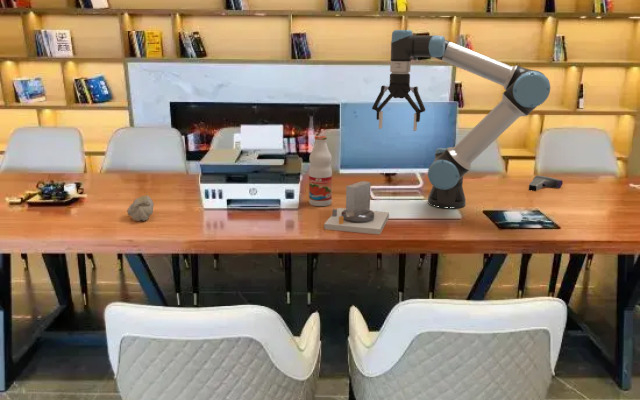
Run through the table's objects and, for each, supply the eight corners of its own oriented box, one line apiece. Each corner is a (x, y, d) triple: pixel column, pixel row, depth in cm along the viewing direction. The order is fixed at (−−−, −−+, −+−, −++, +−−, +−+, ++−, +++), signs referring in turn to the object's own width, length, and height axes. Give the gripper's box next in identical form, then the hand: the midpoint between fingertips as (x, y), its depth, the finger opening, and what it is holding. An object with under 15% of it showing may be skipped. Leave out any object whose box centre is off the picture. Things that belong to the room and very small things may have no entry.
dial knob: (354, 210, 206) (355, 178, 202) (380, 216, 198) (381, 183, 195) (334, 217, 197) (335, 184, 194) (361, 224, 190) (362, 190, 186)
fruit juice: (334, 201, 225) (335, 134, 217) (328, 207, 217) (329, 138, 209) (312, 199, 228) (312, 133, 220) (306, 205, 219) (305, 137, 211)
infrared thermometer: (526, 192, 245) (535, 183, 256) (554, 196, 238) (562, 187, 250) (526, 182, 244) (536, 174, 255) (555, 186, 237) (563, 177, 248)
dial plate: (388, 217, 205) (389, 206, 204) (379, 234, 187) (380, 222, 185) (338, 212, 210) (338, 201, 209) (324, 229, 192) (324, 217, 191)
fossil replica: (135, 225, 195) (161, 221, 202) (136, 204, 193) (161, 200, 200) (121, 215, 203) (145, 212, 210) (121, 194, 201) (146, 192, 208)
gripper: (365, 72, 203) (363, 128, 209) (431, 74, 194) (428, 132, 200) (370, 71, 210) (369, 126, 216) (435, 73, 201) (431, 129, 207)
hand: (397, 129), depth 208 cm, fingers open, 13 cm apart
